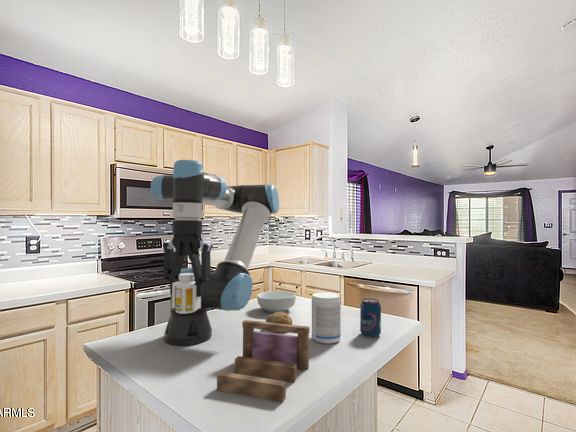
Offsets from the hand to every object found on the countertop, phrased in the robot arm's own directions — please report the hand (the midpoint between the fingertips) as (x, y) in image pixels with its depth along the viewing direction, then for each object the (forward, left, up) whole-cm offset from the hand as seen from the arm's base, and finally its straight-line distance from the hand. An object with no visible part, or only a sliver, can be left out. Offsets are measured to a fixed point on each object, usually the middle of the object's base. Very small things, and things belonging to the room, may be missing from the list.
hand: (186, 307), depth 86 cm
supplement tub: (+31, +34, -16) cm, 49 cm away
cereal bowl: (+4, +62, -16) cm, 64 cm away
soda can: (+45, +43, -16) cm, 64 cm away
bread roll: (+13, +39, -17) cm, 45 cm away
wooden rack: (+21, +3, -16) cm, 27 cm away
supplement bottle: (0, 0, -1) cm, 1 cm away
